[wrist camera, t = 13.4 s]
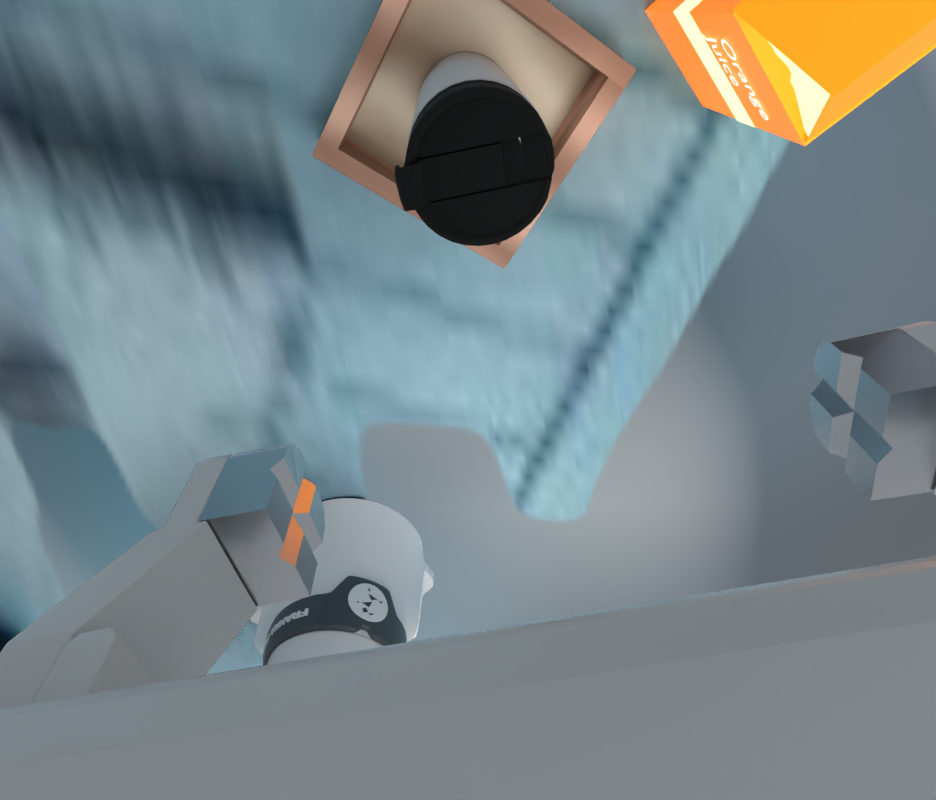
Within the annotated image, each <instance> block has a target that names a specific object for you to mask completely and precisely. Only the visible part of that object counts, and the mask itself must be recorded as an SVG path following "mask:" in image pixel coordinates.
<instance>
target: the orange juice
mask: <svg viewBox="0 0 936 800" xmlns="http://www.w3.org/2000/svg"><path fill="white" fill-rule="evenodd" d="M645 12H646V13H647V15H648V17H649V18H650V20H651V22H652V23H653V25H654V26H655V28H656V30H657V31H658V33H659V35H660V36H661V38H662V40H663V41H664V43H665V45H666V46H667V48H668V50H669V51H670V53H671V55H672V56H673V58H674V59H675V61H676V63H677V64H678V66H679V68H680V69H681V71H682V73H683V74H684V76H685V78H686V79H687V81H688V83H689V84H690V86H691V87H692V89H693V91H694V92H695V94H696V96H697V97H698V99H699V101H700V102H701V104H702V106H704V107H706V108H709V109H712V110H714V111H717V112H719V113H722V114H724V115H727V116H729V117H732V118H735V119H736V120H737V121H739V122H742V123H744V124H747V125H749V126H752V127H758V128H760V129H763V130H765V131H768V132H770V133H773V134H775V135H778V136H781V137H783V138H786V139H788V140H791V141H793V142H796V143H799V144H801V145H804V146H806V145H807V144H808V143H810V142H811V141H812V140H813V139H815V138H816V137H818V136H819V135H820V134H822V133H823V132H824V131H826V130H827V129H828V128H829V127H831V126H832V125H833V124H835V123H836V122H837V121H838V120H840V119H841V118H842V117H844V116H845V115H847V114H848V113H849V112H851V111H852V110H853V109H855V108H856V107H857V106H859V105H860V104H861V103H863V102H864V101H865V100H866V99H868V98H869V97H871V96H872V95H873V94H874V93H876V92H877V91H878V90H880V89H881V88H882V87H884V86H885V85H886V84H888V83H889V82H890V81H892V80H893V79H894V78H896V77H897V76H898V75H899V74H901V73H902V72H903V71H905V70H906V69H908V68H909V67H910V66H911V65H913V64H914V63H915V62H917V61H918V60H919V59H921V58H922V57H923V56H924V55H926V54H927V53H929V52H930V51H931V50H933V49H934V48H935V47H936V0H656V1H655V2H654V3H653V4H652V5H651V6H649V7H648V8H647V9H646V10H645Z"/></svg>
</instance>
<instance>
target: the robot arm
mask: <svg viewBox="0 0 936 800" xmlns="http://www.w3.org/2000/svg"><path fill="white" fill-rule="evenodd" d="M814 370H815V371H816V372H817V373H818V374H819V376H820V377H821V378H822V379H823V380H822V381H821V383H820V384H819V385H818V386H817V388H816V389H815V390H814V391H813V392H812V394H811V405H810V414H811V419H812V423H813V428H814V431H815V433H816V435H817V437H818V439H819V441H820V442H821V443H822V444H823V446H824V447H825V448H826V449H827V451H828V452H830V453H832V454H835V455H838V456H840V457H842V458H845V459H846V467H845V471H846V473H847V474H848V475H849V476H850V477H851V478H852V480H854V482H855V483H856V484H857V485H858V486H859V488H860V489H861V490H862V491H863V492H864V493H865V494H866V496H867V497H868V498H869V499H870V500H878V499H885V498H892V497H898V496H905V495H911V494H919V493H926V492H933V491H934V494H935V495H936V323H935V322H929V321H925V322H920V323H916V324H911V325H907V326H903V327H898V328H894V329H890V330H886V331H881V332H877V333H872V334H868V335H863V336H858V337H853V338H849V339H844V340H839V341H835V342H830V343H825V344H821V345H820V346H819V348H818V351H817V353H816V356H815V364H814ZM306 465H307V464H306V462H305V460H304V458H303V456H302V454H301V452H300V450H299V448H298V447H296V446H295V445H293V444H290V445H284V446H278V447H272V448H266V449H260V450H255V451H249V452H243V453H237V454H234V455H225V456H220V457H215V458H210V459H205V460H203V461H201V462H199V463H198V464H197V466H196V468H195V469H194V471H193V473H192V475H191V477H190V479H189V481H188V483H187V484H186V486H185V488H184V490H183V492H182V494H181V496H180V497H179V499H178V501H177V503H176V505H175V507H174V509H173V511H172V512H171V514H170V516H169V518H168V520H167V522H166V524H165V525H164V527H163V529H158V530H153V531H152V532H151V533H149V534H148V535H147V536H145V537H144V538H143V539H141V540H140V541H139V542H138V543H136V544H135V545H134V546H132V547H131V548H130V549H129V550H127V551H126V552H125V553H123V554H122V555H121V556H119V557H118V558H117V559H115V560H114V561H113V562H112V563H111V564H109V565H108V566H106V567H105V568H104V569H102V570H101V571H100V572H99V573H97V574H96V575H95V576H93V577H92V578H91V579H90V580H88V581H87V582H86V583H84V584H83V585H82V586H80V587H79V588H78V589H76V590H75V591H74V592H73V593H71V594H70V595H69V596H67V597H66V598H65V599H63V600H62V601H61V602H60V603H58V604H57V605H56V606H54V607H53V608H52V609H50V610H49V611H48V612H47V613H45V614H44V615H43V616H41V617H40V618H39V619H37V620H36V621H35V622H34V623H32V624H31V625H30V626H28V627H27V628H26V629H25V630H23V631H22V632H21V633H19V634H18V635H17V636H15V637H14V638H13V639H12V640H10V641H9V642H8V643H7V644H6V645H5V647H4V648H3V650H2V651H1V653H0V800H936V556H932V557H926V558H920V559H914V560H908V561H902V562H895V563H889V564H883V565H877V566H871V567H865V568H859V569H852V570H846V571H840V572H834V573H828V574H821V575H816V576H810V577H803V578H797V579H791V580H785V581H778V582H772V583H766V584H760V585H753V586H747V587H741V588H735V589H729V590H723V591H716V592H711V593H704V594H698V595H692V596H686V597H680V598H674V599H668V600H662V601H656V602H650V603H643V604H638V605H631V606H625V607H619V608H613V609H607V610H601V611H596V612H589V613H583V614H577V615H570V616H565V617H558V618H552V619H546V620H540V621H535V622H528V623H522V624H517V625H510V626H504V627H498V628H492V629H485V630H480V631H473V632H467V633H461V634H455V635H449V636H443V637H437V638H430V639H425V640H418V641H412V642H410V640H411V639H412V638H415V637H416V635H417V633H418V628H419V621H420V613H421V605H422V596H423V595H424V594H425V593H426V592H427V591H429V590H430V589H431V588H432V587H433V585H434V578H435V577H434V573H433V571H432V570H431V568H430V567H429V565H428V564H427V563H426V562H425V559H424V553H423V545H422V541H421V538H420V536H419V534H418V532H417V530H416V529H415V527H414V526H413V525H412V524H411V522H410V521H409V520H407V519H406V518H405V517H404V516H403V515H401V514H400V513H398V512H397V511H395V510H393V509H391V508H390V507H387V506H385V505H382V504H380V503H377V502H372V501H369V500H364V499H355V498H340V499H332V500H327V501H323V502H322V500H321V497H320V494H319V492H318V489H317V487H316V485H314V484H313V483H311V482H309V481H308V480H306V479H305V478H303V476H304V472H305V469H306ZM249 620H251V621H252V622H253V623H255V624H256V625H258V626H257V629H256V633H255V636H254V640H253V643H254V645H255V647H256V649H257V650H258V651H259V652H260V653H261V654H262V655H263V666H258V667H252V668H246V669H240V670H234V671H228V672H222V673H215V674H209V675H206V673H207V672H208V671H209V670H210V669H211V667H212V666H213V665H214V663H215V662H216V661H217V660H218V659H219V657H220V656H221V655H222V654H223V652H224V651H225V650H226V649H227V647H228V646H229V645H230V644H231V642H232V641H233V640H234V639H235V637H236V636H237V635H238V634H239V632H240V631H241V630H242V629H243V627H244V626H245V625H246V624H247V622H248V621H249Z"/></svg>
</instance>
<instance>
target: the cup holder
mask: <svg viewBox="0 0 936 800" xmlns="http://www.w3.org/2000/svg"><path fill="white" fill-rule="evenodd" d="M463 51H470V52H477V53H480V54H482V55H485V56H487V57H488V58H490V59H492V60H493V61H494V62H495V63H496V64H497V65H498V66H500V67H501V69H502V70H503V71H504V72H505V73H506V74H507V75H508V76H509V78H510V79H511V80H512V81H513V82H514V83H515V84H516V86H517V87H518V88H519V89H520V90H521V91H522V92H523V94H524V95H525V96H526V97H527V98H528V99H529V100H530V102H531V103H532V104H533V106H534V107H535V109H536V110H537V112H538V113H539V115H540V117H541V119H542V120H543V122H544V124H545V126H546V128H547V131H548V133H549V135H550V137H551V139H552V144H553V149H554V161H555V169H554V172H553V175H552V177H551V178H552V182H551V186H550V190H549V195H548V199H547V201H546V203H545V205H544V206H543V208H542V210H541V211H540V213H539V214H538V215H537V216H536V218H535V219H534V220H533V221H532V222H531V223H530V224H529V225H528V226H527V227H526V228H524V229H523V230H522V231H521V232H520V233H518V234H516V235H514V236H513V237H511V238H509V239H507V240H505V241H502V242H498V243H495V244H492V245H484V246H470V245H464V246H466V247H468V248H469V249H471V250H473V251H474V252H476V253H478V254H480V255H481V256H483V257H485V258H486V259H488V260H490V261H491V262H493V263H495V264H497V265H498V266H500V267H502V268H503V269H504V268H505V267H506V265H507V264H508V262H509V261H510V259H511V258H512V256H513V255H514V253H515V252H516V250H517V249H518V247H519V246H520V244H521V243H522V241H523V240H524V238H525V237H526V235H527V234H528V232H529V231H530V229H531V228H532V226H533V225H534V223H535V222H536V220H537V219H538V217H539V216H540V214H541V213H542V211H543V210H544V208H545V207H546V205H547V204H548V202H549V201H550V199H551V198H552V196H553V195H554V193H555V192H556V190H557V189H558V187H559V186H560V184H561V183H562V181H563V180H564V178H565V177H566V175H567V174H568V172H569V171H570V169H571V168H572V166H573V165H574V163H575V162H576V160H577V159H578V157H579V156H580V154H581V153H582V151H583V150H584V148H585V147H586V145H587V144H588V142H589V141H590V139H591V138H592V136H593V135H594V133H595V132H596V130H597V129H598V127H599V126H600V124H601V123H602V121H603V120H604V118H605V117H606V115H607V114H608V112H609V111H610V110H611V108H612V107H613V105H614V104H615V102H616V101H617V99H618V98H619V96H620V95H621V93H622V92H623V90H624V89H625V87H626V86H627V84H628V83H629V81H630V80H631V78H632V77H633V75H634V74H635V72H636V71H637V69H635V68H634V67H633V66H631V65H630V64H629V63H628V62H626V61H625V60H624V59H622V58H621V57H620V56H618V55H617V54H616V53H614V52H613V51H612V50H610V49H609V48H608V47H607V46H605V45H604V44H603V43H601V42H600V41H599V40H597V39H596V38H595V37H593V36H592V35H591V34H590V33H588V32H587V31H586V30H584V29H583V28H582V27H580V26H579V25H578V24H576V23H575V22H574V21H573V20H571V19H570V18H569V17H567V16H566V15H565V14H563V13H562V12H561V11H559V10H558V9H557V8H555V7H554V6H553V5H552V4H550V3H549V2H548V1H546V0H383V1H382V3H381V6H380V8H379V10H378V12H377V14H376V16H375V19H374V21H373V23H372V25H371V27H370V30H369V32H368V34H367V36H366V38H365V40H364V43H363V45H362V47H361V49H360V51H359V53H358V56H357V58H356V60H355V62H354V64H353V66H352V69H351V71H350V73H349V75H348V77H347V79H346V82H345V84H344V86H343V88H342V90H341V93H340V95H339V97H338V99H337V101H336V103H335V106H334V108H333V110H332V112H331V114H330V116H329V119H328V121H327V123H326V125H325V127H324V129H323V132H322V134H321V136H320V138H319V140H318V143H317V146H316V148H315V150H314V152H313V154H312V156H313V157H315V158H316V159H318V160H320V161H322V162H323V163H325V164H327V165H328V166H330V167H332V168H333V169H335V170H337V171H339V172H340V173H342V174H344V175H345V176H347V177H349V178H350V179H352V180H354V181H356V182H357V183H359V184H361V185H362V186H364V187H366V188H367V189H369V190H371V191H373V192H374V193H376V194H378V195H379V196H381V197H383V198H384V199H386V200H388V201H390V202H391V203H393V204H395V205H396V206H398V207H400V208H401V209H403V210H404V208H403V206H402V204H401V200H400V197H399V193H398V189H397V185H396V180H395V175H394V174H395V166H396V165H399V166H400V167H404V163H405V157H406V151H407V141H408V137H409V133H410V129H411V125H412V121H413V117H414V113H415V109H416V105H417V101H418V97H419V93H420V89H421V86H422V83H423V81H424V79H425V76H426V75H427V73H428V72H429V70H430V69H431V68H432V66H434V65H435V64H436V63H437V62H438V61H439V60H440V59H442V58H444V57H446V56H447V55H450V54H453V53H456V52H463ZM407 212H408V213H410V214H412V215H413V216H415V217H417V218H418V219H420V220H422V219H421V218H420V216H419V215H418V214H417V212H416V211H415V210H411V211H407ZM422 221H423V220H422Z"/></svg>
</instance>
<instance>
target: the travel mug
mask: <svg viewBox="0 0 936 800" xmlns="http://www.w3.org/2000/svg"><path fill="white" fill-rule="evenodd" d="M554 169H555V161H554V149H553V144H552V139H551V137H550V135H549V133H548V131H547V128H546V126H545V124H544V122H543V120H542V119H541V117H540V115H539V113H538V112H537V110H536V109H535V107H534V106H533V104H532V103H531V102H530V100H529V99H528V98H527V97H526V96H525V95H524V94H523V92H522V91H521V90H520V89H519V88H518V87H517V86H516V84H515V83H514V82H513V81H512V80H511V79H510V78H509V76H508V75H507V74H506V73H505V72H504V71H503V70H502V69H501V67H500V66H498V65H497V64H496V63H495V62H494V61H493V60H492V59H490V58H488V57H487V56H485V55H482V54H480V53H477V52H470V51H463V52H456V53H453V54H450V55H447V56H446V57H444V58H442V59H440V60H439V61H438V62H437V63H436V64H435V65H434V66H432V68H431V69H430V70H429V72H428V73H427V75H426V76H425V79H424V81H423V83H422V86H421V89H420V93H419V97H418V101H417V105H416V109H415V113H414V117H413V121H412V125H411V129H410V133H409V137H408V141H407V151H406V157H405V163H404V167H400V166H399V165H396V166H395V174H394V175H395V180H396V185H397V189H398V193H399V197H400V200H401V204H402V206H403V208H404V211H411V210H415V211H416V212H417V214H418V215H419V216H420V218H421V219H422V220H423V221H424V223H425V224H426V225H427V226H428V227H429V228H430V229H432V230H433V231H434V232H436V233H437V234H438V235H440V236H442V237H444V238H446V239H448V240H450V241H452V242H455V243H459V244H463V245H470V246H484V245H492V244H495V243H498V242H502V241H505V240H507V239H509V238H511V237H513V236H514V235H516V234H518V233H520V232H521V231H522V230H523V229H524V228H526V227H527V226H528V225H529V224H530V223H531V222H532V221H533V220H534V219H535V218H536V216H537V215H538V214H539V213H540V211H541V210H542V208H543V206H544V205H545V203H546V201H547V199H548V195H549V190H550V186H551V182H552V178H551V177H552V175H553V172H554Z"/></svg>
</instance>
